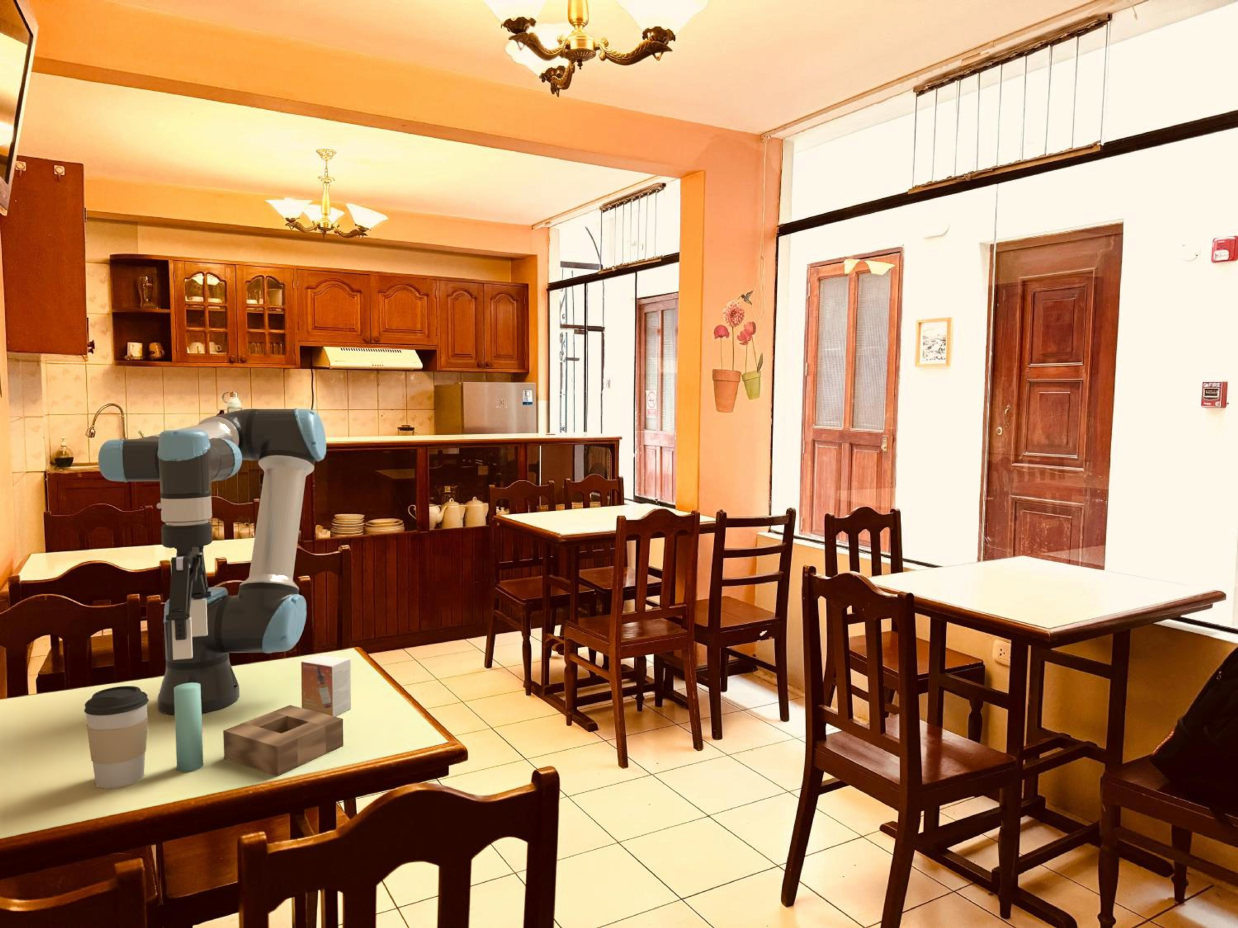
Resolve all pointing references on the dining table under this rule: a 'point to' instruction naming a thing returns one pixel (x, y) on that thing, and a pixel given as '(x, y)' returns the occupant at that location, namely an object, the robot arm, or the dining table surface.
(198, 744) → the peg
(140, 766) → the coffee cup
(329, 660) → the small box
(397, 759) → the dining table surface
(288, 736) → the socket
